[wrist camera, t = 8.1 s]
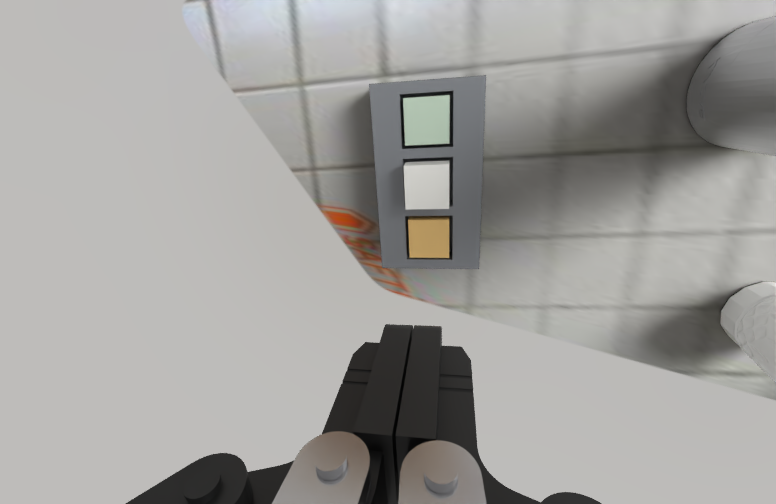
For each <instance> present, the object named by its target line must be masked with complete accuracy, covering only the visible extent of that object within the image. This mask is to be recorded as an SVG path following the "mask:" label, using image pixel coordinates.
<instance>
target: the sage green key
mask: <svg viewBox="0 0 776 504" xmlns="http://www.w3.org/2000/svg"><path fill="white" fill-rule="evenodd" d="M403 108H404V132H405V146H407V145H429V144H449V142H450V95H443V96H428V97H413V98H403Z"/></svg>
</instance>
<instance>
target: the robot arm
mask: <svg viewBox="0 0 776 504" xmlns="http://www.w3.org/2000/svg"><path fill="white" fill-rule="evenodd" d="M686 104H687V113H688V117H689V120H690V122H691V125H692V127H693V128H694V129H695V131H696V132H697V133H698V135H699V136H701V137H702V138H703V139H705V140H706V141H708V142H710V143H712V144H715V145H717V146H721V147H727V148H732V149H738V150H744V151H750V152H755V153H760V154H766V155H772V156H776V16H773V17H769V18H766V19H762V20H758V21H755V22H752V23H749V24H747V25H745V26H743V27H741V28H739V29H737V30H735V31H734V32H732V33H731V34H729V35H728V36H726V37H725V38H723V39H722V40H721V41H720V42H719V43H718V44H717V45H716V46H715V47H714V48H712V49H711V50H710V51H709V53H708V54H707V55H706V56H705V58H704V59H703V60H702V62H701V63H700V64H699V66H698V68H697V70H696V72H695V73H694V75H693V77H692V80H691V83H690V86H689V89H688V95H687V103H686ZM126 504H601V503H600V502H598V501H596V500H594V499H592V498H590V497H587V496H584V495H581V494H576V493H570V492H562V493H556V494H553V495H550V496H549V497H547V498H545V499H544V500H543V501H542V502H541V503H540V502H538V501H536V500H533V499H531V498H529V497H526V496H524V495H522V494H519V493H517V492H515V491H513V490H511V489H509V488H507V487H505V486H504V485H502V484H501V483H500V482H498V481H497V480H496V479H495V478H494V477H493V476H492V475H491V474H490V473H489V472H488V471H487V469H486V468H485V466H484V465H483V463H482V461H481V459H480V457H479V454H478V449H477V438H476V424H475V411H474V397H473V383H472V370H471V360H470V358H469V357H468V356H467V354H466V353H465V351H464V350H463V348H462V347H454V346H442V328H441V327H440V326H416V325H415V326H414V329H413V326H412V325H388V324H386V325H385V327H384V330H383V334H382V337H381V340H380V343H369V342H365V343H364V344H363V345H362V346H361V347H360V348H359V349H358V350H357V351H356V352H355V353H354V354H353V356H352V359H351V361H350V364H349V366H348V370H347V372H346V374H345V377H344V379H343V384H341V387H340V389H339V392H338V394H337V397H336V399H335V402H334V404H333V407H332V410H331V412H330V415H329V418H328V420H327V422H326V425H325V428H324V430H323V432H322V435H319V436H317V437H316V438H314V439H312V440H311V441H309V442H308V443H307V444H306V445H305V446H304V447H303V448H302V449H301V450H300V452H299V453H298V455H297V457H296V458H295V460H294V461H292V462H290V463H287V464H283V465H280V466H275V467H271V468H266V469H261V470H256V471H251V472H247V470H246V466H245V464H244V462H243V461H242V460H241V459H240V458H238V457H237V456H235V455H232V454H227V453H219V454H213V455H209V456H206V457H203V458H201V459H199V460H197V461H195V462H194V463H191V464H190V465H188V466H187V467H185V468H183V469H182V470H180V471H179V472H177V473H175V474H173V475H172V476H170V477H168V478H167V479H165V480H164V481H162V482H160V483H159V484H157V485H155V486H154V487H152V488H150V489H149V490H147V491H146V492H144V493H142V494H141V495H139V496H137V497H136V498H134V499H132V500H131V501H129V502H128V503H126Z"/></svg>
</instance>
